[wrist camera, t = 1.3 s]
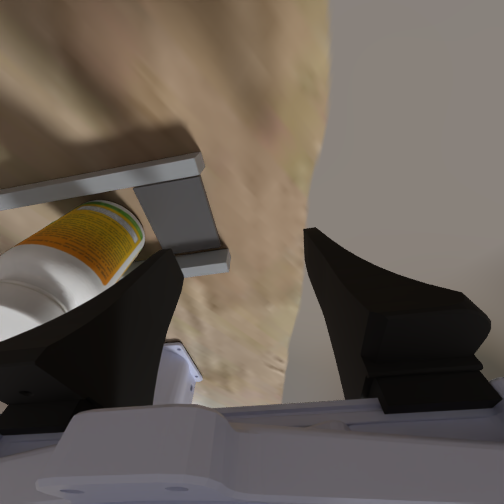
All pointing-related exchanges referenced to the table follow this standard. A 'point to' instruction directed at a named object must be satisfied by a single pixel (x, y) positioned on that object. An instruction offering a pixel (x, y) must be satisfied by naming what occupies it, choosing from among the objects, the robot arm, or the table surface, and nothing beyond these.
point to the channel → (148, 206)
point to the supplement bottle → (66, 264)
